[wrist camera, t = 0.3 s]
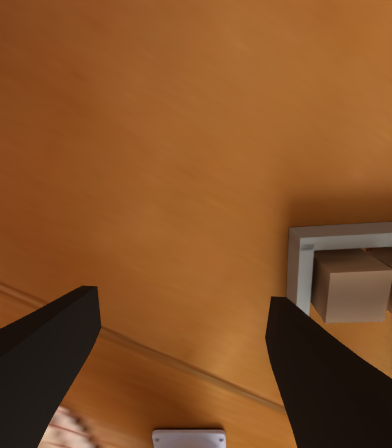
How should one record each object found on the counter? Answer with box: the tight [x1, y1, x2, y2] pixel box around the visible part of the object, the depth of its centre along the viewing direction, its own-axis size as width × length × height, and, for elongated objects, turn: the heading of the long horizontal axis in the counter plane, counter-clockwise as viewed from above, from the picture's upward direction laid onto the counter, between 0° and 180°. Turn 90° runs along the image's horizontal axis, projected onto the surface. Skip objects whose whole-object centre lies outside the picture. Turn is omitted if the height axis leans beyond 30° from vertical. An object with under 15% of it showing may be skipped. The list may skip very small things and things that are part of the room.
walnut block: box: [310, 248, 392, 323], centre depth 18 cm, size 4×4×4 cm
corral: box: [286, 222, 392, 316], centre depth 20 cm, size 16×12×2 cm
